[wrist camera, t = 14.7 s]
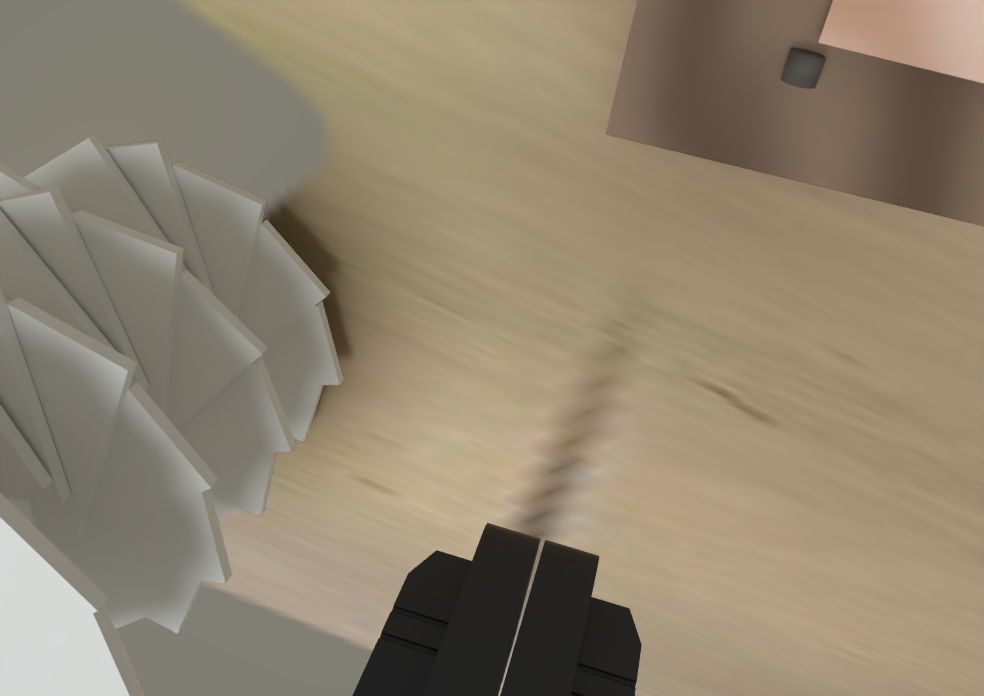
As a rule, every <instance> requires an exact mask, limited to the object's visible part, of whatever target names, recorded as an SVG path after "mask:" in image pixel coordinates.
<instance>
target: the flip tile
mask: <svg viewBox="0 0 984 696" xmlns="http://www.w3.org/2000/svg"><path fill="white" fill-rule="evenodd" d="M818 43H822V44H826V45H830V46H834V47H838V48H842V49H846V50H850V51H854V52H858V53H862V54H866V55H871V56H875V57H879V58H883V59H887V60H891V61H895V62H899V63H903V64H907V65H911V66H915V67H919V68H923V69H928V70H932V71H936V72H940V73H944V74H948V75H952V76H956V77H960V78H964V79H968V80H972V81H976V82H981V83H984V0H833V1H832V4H831V7H830V9H829V12H828V15H827V18H826V21H825V24H824V27H823V30H822V33H821V36H820V39H819V42H818Z"/></svg>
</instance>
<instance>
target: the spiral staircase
mask: <svg viewBox="0 0 984 696" xmlns="http://www.w3.org/2000/svg"><path fill="white" fill-rule="evenodd" d="M266 204H267V200H265V199H263V198H260V197H258V196H256V195H254V194H252V193H249V192H247V191H245V190H243V189H241V188H238V187H236V186H234V185H232V184H229V183H227V182H225V181H222V180H220V179H218V178H216V177H214V176H212V175H209V174H207V173H205V172H203V171H201V170H198V169H196V168H194V167H192V166H189V165H187V164H185V163H183V162H181V161H177V162H175V163H174V164H173V165H172V164H171V162H170V158H169V156H168V152H167V149H166V147H165V143H164V140H155V141H146V142H138V143H128V144H119V145H110V146H103V144H102V143H101V141H100V140H99V138H98V137H97V135H93V136H91V137H89V138H88V139H86V140H84V141H83V142H81V143H79V144H78V145H76V146H74V147H73V148H71V149H69V150H68V151H66V152H64V153H63V154H61V155H60V156H58V157H56V158H55V159H53V160H51V161H50V162H48V163H46V164H45V165H43V166H41V167H40V168H38V169H36V170H35V171H33V172H31V173H30V174H28V175H27V176H25V177H22V176H20V175H19V174H17V173H16V172H14V171H12V170H11V169H9V168H8V167H6V166H5V165H3V164H2V163H0V696H144V693H143V691H142V689H141V686H140V684H139V682H138V679H137V677H136V675H135V672H134V670H133V668H132V666H131V663H130V661H129V659H128V656H127V654H126V652H125V649H124V647H123V645H122V642H121V640H120V638H119V636H118V633H117V631H116V628H119V627H121V626H124V625H126V624H129V623H131V622H134V621H136V620H139V619H141V618H144V617H148V618H149V619H151V620H153V621H155V622H157V623H159V624H160V625H162V626H164V627H166V628H168V629H170V630H172V631H173V632H175V633H178V632H179V630H180V629H181V628H182V626H183V625H184V623H185V621H186V618H187V616H188V614H189V612H190V609H191V607H192V605H193V603H194V601H195V598H196V596H197V594H198V592H199V589H200V587H201V585H202V583H203V581H211V582H218V583H226V582H227V581H228V579H229V578H230V576H231V575H232V572H231V568H230V564H229V560H228V556H227V552H226V549H225V545H224V541H223V537H222V533H221V529H220V525H219V521H218V520H219V519H220V518H222V517H223V516H224V515H225V514H227V513H228V512H229V511H231V510H232V509H233V508H234V507H238V508H241V509H243V510H246V511H248V512H251V513H253V514H256V515H258V516H261V515H262V513H263V512H264V511H265V509H266V504H267V499H268V493H269V488H270V483H271V478H272V473H273V467H274V462H275V457H276V453H277V452H291V451H292V450H293V448H294V447H295V446H296V443H295V440H294V438H295V439H297V440H299V441H301V442H304V440H305V439H306V438H307V436H308V433H309V430H310V426H311V423H312V420H313V417H314V414H315V411H316V408H317V405H318V401H319V398H320V395H321V392H322V389H323V386H324V385H340V384H341V383H342V381H343V380H344V379H343V375H342V372H341V368H340V364H339V361H338V357H337V353H336V350H335V346H334V342H333V339H332V335H331V331H330V328H329V324H328V320H327V317H326V313H325V309H324V306H323V302H322V300H323V299H324V298H326V297H327V296H328V294H329V293H330V291H329V290H328V289H327V288H326V287H325V286H324V284H323V283H322V282H321V281H320V280H319V279H318V278H317V276H316V275H315V274H314V273H313V272H312V271H311V270H310V268H309V267H308V266H307V265H306V264H305V263H304V262H303V260H302V259H301V258H300V257H299V256H298V255H297V254H296V252H295V251H294V250H293V249H292V248H291V247H290V246H289V244H288V243H287V242H286V241H285V240H284V239H283V237H282V236H281V235H280V234H279V233H278V232H277V231H276V229H275V228H274V227H273V226H272V225H271V224H270V223H269V221H268V220H265V221H264V222H263V223H262V221H263V217H264V212H265V208H266Z"/></svg>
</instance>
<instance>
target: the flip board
mask: <svg viewBox="0 0 984 696" xmlns="http://www.w3.org/2000/svg"><path fill="white" fill-rule="evenodd" d="M832 1H833V0H638V2H637V6H636V10H635V15H634V19H633V23H632V27H631V31H630V36H629V40H628V44H627V48H626V52H625V56H624V61H623V65H622V69H621V73H620V77H619V82H618V86H617V90H616V94H615V98H614V102H613V107H612V111H611V115H610V119H609V123H608V128H607V132H606V135H610V136H614V137H618V138H622V139H626V140H631V141H635V142H639V143H643V144H647V145H651V146H655V147H659V148H664V149H668V150H672V151H676V152H680V153H684V154H688V155H692V156H696V157H701V158H705V159H709V160H713V161H717V162H721V163H725V164H729V165H734V166H738V167H742V168H746V169H750V170H754V171H758V172H762V173H766V174H771V175H775V176H779V177H783V178H787V179H791V180H795V181H799V182H804V183H808V184H812V185H816V186H820V187H824V188H828V189H832V190H836V191H841V192H845V193H849V194H853V195H857V196H861V197H865V198H869V199H874V200H878V201H882V202H886V203H890V204H894V205H898V206H902V207H906V208H911V209H915V210H919V211H923V212H927V213H931V214H935V215H939V216H944V217H948V218H952V219H956V220H960V221H964V222H968V223H972V224H976V225H981V226H984V83H981V82H976V81H972V80H968V79H964V78H960V77H956V76H952V75H948V74H944V73H940V72H936V71H932V70H928V69H923V68H919V67H915V66H911V65H907V64H903V63H899V62H895V61H891V60H887V59H883V58H879V57H875V56H871V55H866V54H862V53H858V52H854V51H850V50H846V49H842V48H838V47H834V46H830V45H826V44H822V43H818V42H819V39H820V36H821V33H822V30H823V27H824V24H825V21H826V18H827V15H828V12H829V9H830V7H831V4H832Z"/></svg>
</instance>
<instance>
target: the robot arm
mask: <svg viewBox="0 0 984 696" xmlns="http://www.w3.org/2000/svg"><path fill="white" fill-rule="evenodd" d="M539 543H540V538H536V537H533V536H530V535H526V534H523V533H520V532H516V531H513V530H510V529H506V528H503V527H499V526H496V525H493V524H489V523H487V524H486V526H485V529H484V531H483V534H482V536H481V539H480V541H479V544H478V547H477V549H476V552H475V555H474V557H473V560H472V561H470V560H467V559H463V558H460V557H457V556H454V555H450V554H447V553H444V552H440V551H437V550H436V551H435V552H434V553H433V554H431V555H430V556H429V557H428V558H427V559H425V560H424V561H423V562H422V563H420V564H419V565H418V566H417V567H416V568H414V569H413V570H412V571H411V572H409V573H408V575H407V578H406V580H405V582H404V584H403V586H402V588H401V591H400V593H399V595H398V597H397V599H396V602H395V604H394V607H393V610H392V612H391V613H390V615H389V617H388V619H387V621H386V623H385V626H384V628H383V630H382V633H381V636H380V639H378V641H377V643H376V645H375V648H374V650H373V652H372V654H371V656H370V659H369V661H368V663H367V665H366V667H365V669H364V672H363V674H362V676H361V678H360V681H359V683H358V685H357V687H356V689H355V691H354V694H353V696H498V694H499V690H500V687H501V683H502V680H503V676H504V673H505V670H506V666H507V663H508V659H509V656H510V652H511V649H512V645H513V641H514V638H515V634H516V630H517V627H518V623H519V619H520V616H521V612H522V608H523V604H524V600H525V597H526V593H527V589H528V585H529V581H530V578H531V574H532V570H533V566H534V562H535V559H536V555H537V551H538V547H539ZM598 561H599V556H598V555H594V554H591V553H588V552H584V551H581V550H578V549H574V548H571V547H568V546H564V545H561V544H557V543H554V542H551V541H547V540H545V543H544V546H543V550H542V553H541V557H540V560H539V563H538V567H537V570H536V574H535V577H534V581H533V584H532V588H531V591H530V595H529V598H528V602H527V605H526V608H525V612H524V615H523V619H522V622H521V626H520V629H519V633H518V636H517V640H516V643H515V647H514V650H513V654H512V657H511V660H510V664H509V667H508V671H507V674H506V678H505V681H504V685H503V688H502V692H501V695H500V696H635V689H636V688H635V685H636V681H637V674H638V667H639V660H640V652H641V642H640V639H639V636H638V633H637V630H636V627H635V624H634V621H633V618H632V615H631V612H630V609H629V608H626V607H623V606H619V605H616V604H613V603H609V602H606V601H603V600H599V599H596V598H593V597H591V595H592V591H593V586H594V581H595V576H596V571H597V567H598Z"/></svg>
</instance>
